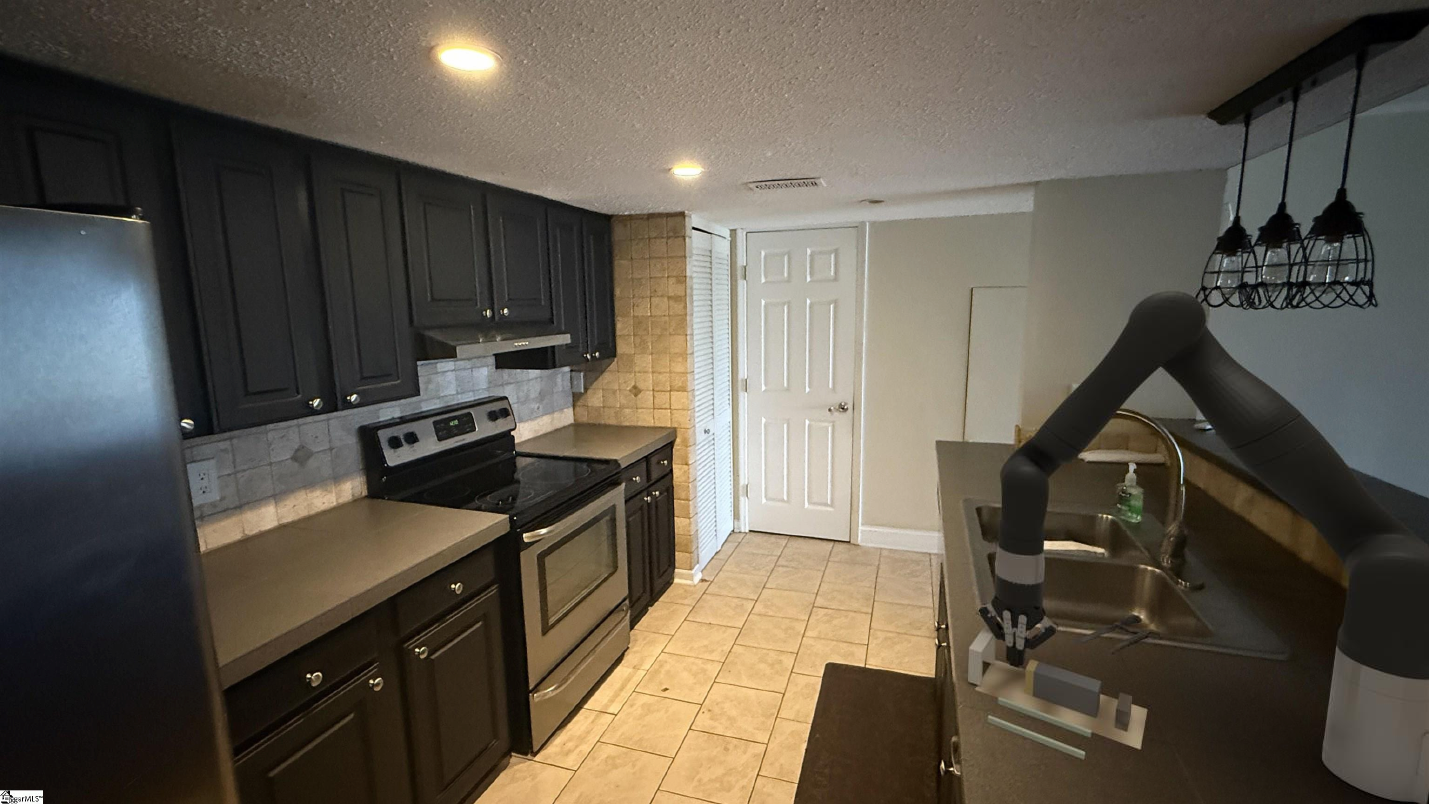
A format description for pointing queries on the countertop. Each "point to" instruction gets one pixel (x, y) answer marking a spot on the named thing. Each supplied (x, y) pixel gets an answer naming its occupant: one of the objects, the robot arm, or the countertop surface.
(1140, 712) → the flat beige board
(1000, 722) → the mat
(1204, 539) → the countertop surface
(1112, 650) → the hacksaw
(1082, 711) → the long gray brick
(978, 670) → the strap
